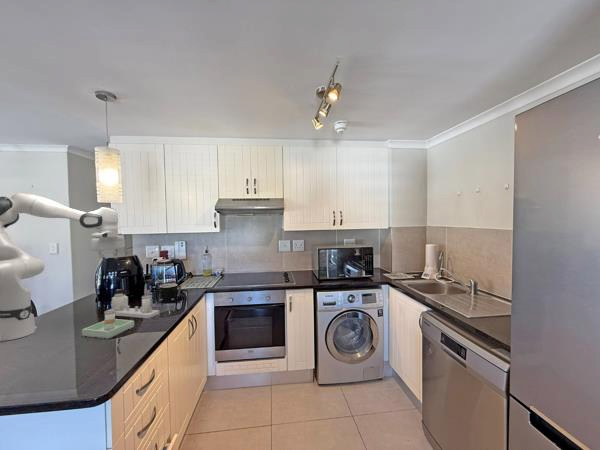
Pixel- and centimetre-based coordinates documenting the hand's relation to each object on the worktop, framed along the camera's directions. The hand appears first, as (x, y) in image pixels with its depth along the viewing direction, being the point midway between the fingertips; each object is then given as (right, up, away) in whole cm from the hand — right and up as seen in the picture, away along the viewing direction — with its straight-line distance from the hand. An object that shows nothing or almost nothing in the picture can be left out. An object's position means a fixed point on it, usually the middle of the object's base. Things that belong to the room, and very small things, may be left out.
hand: (109, 257), depth 162 cm
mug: (+18, -37, +36) cm, 55 cm away
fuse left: (-1, -35, +11) cm, 37 cm away
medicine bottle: (-8, -37, +22) cm, 44 cm away
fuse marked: (+14, -37, -19) cm, 43 cm away
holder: (+9, -37, +9) cm, 39 cm away
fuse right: (+18, -35, +7) cm, 40 cm away
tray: (+13, -37, -19) cm, 44 cm away
